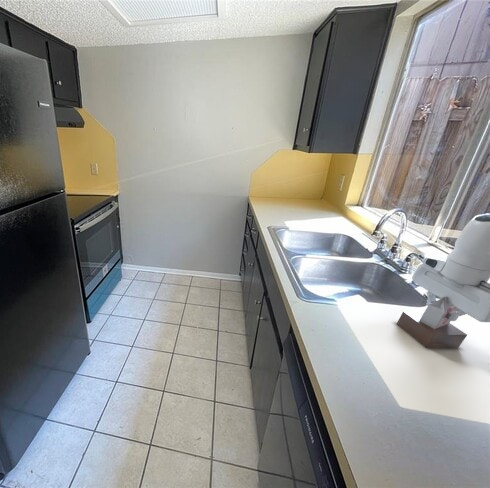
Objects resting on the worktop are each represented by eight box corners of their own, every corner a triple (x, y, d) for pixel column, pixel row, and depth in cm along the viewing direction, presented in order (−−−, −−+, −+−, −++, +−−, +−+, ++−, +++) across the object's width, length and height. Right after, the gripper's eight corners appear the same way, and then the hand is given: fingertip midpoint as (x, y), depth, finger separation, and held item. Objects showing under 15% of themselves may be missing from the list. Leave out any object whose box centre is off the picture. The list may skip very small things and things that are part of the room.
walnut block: (425, 323, 84) (432, 311, 82) (458, 347, 75) (467, 334, 73) (396, 323, 83) (403, 311, 81) (426, 347, 74) (434, 334, 72)
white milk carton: (419, 320, 78) (435, 293, 73) (433, 316, 80) (449, 289, 76) (434, 329, 74) (451, 301, 70) (448, 324, 76) (466, 296, 72)
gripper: (525, 295, 61) (492, 339, 66) (438, 255, 79) (417, 292, 85) (500, 294, 60) (469, 339, 66) (418, 255, 79) (399, 292, 84)
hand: (439, 312), depth 76 cm, fingers closed on white milk carton, 4 cm apart
